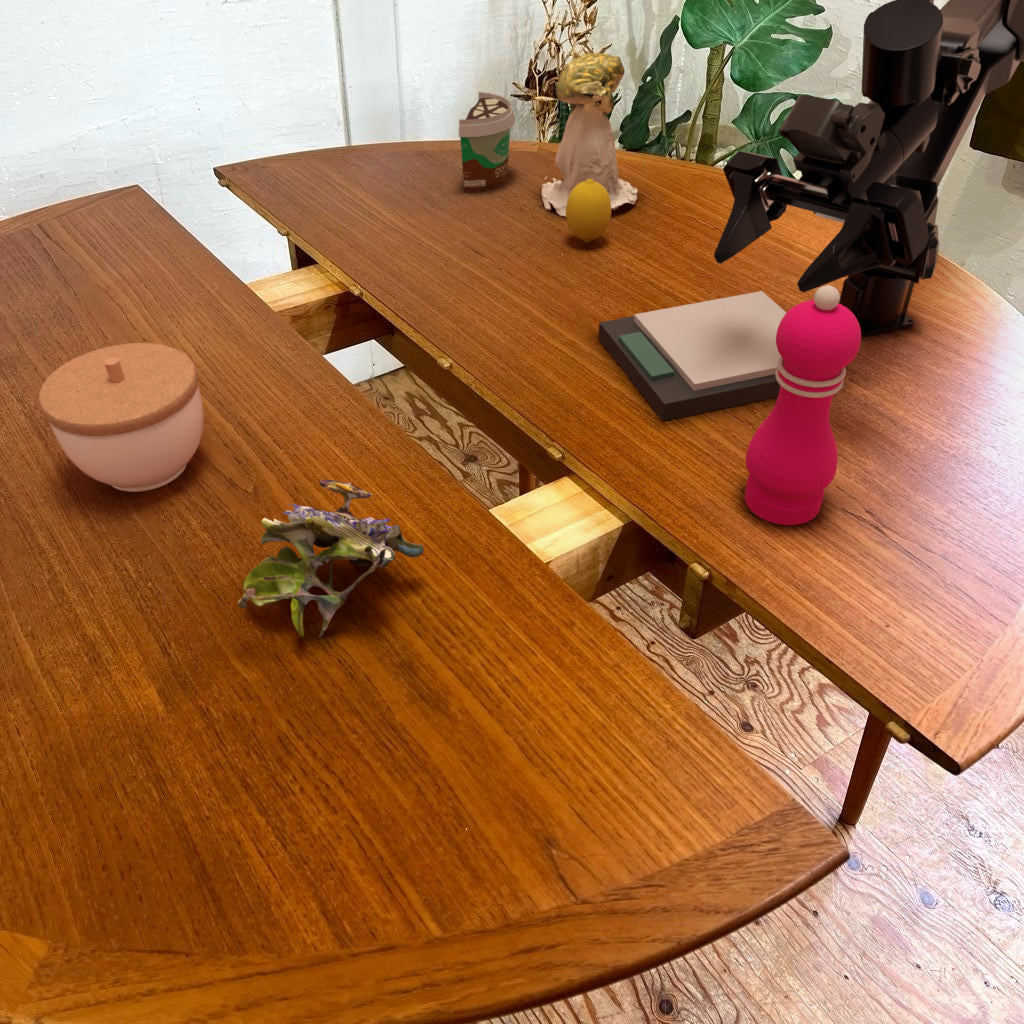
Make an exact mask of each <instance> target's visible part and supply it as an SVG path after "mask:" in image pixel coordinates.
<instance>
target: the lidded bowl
mask: <svg viewBox="0 0 1024 1024" xmlns="http://www.w3.org/2000/svg"><path fill="white" fill-rule="evenodd" d="M198 377H199V376H198V372H197V368H196V364H195V363H194V361H193V360H192V359H191V357H189V355H187V354H186V353H184V352H183V351H181V350H179V349H178V348H175V347H172V346H169V345H166V344H160V343H152V342H151V343H150V342H131V343H121V344H115V345H110V346H105V347H101V348H99V349H94V350H92V351H89V352H86V353H84V354H81V355H79V356H76V357H74V358H72V359H71V360H68V361H67V362H65V363H64V364H62V365H61V366H59V367H58V368H57V369H55V370H54V371H53V372H52V373H51V374H50V375H49V376H48V377H47V378H46V379H45V381H44V382H43V384H42V386H41V388H40V391H39V392H38V403H39V406H40V410H41V411H42V414H43V416H44V417H45V419H46V420H47V422H48V424H49V427H50V430H51V431H52V434H53V436H54V438H55V440H56V441H57V443H58V444H59V446H60V448H61V450H62V451H63V452H64V454H65V455H66V457H67V458H68V460H69V461H70V462H71V463H72V464H73V465H74V466H75V467H76V468H78V470H80V471H81V472H82V473H83V474H84V475H86V476H88V477H90V478H91V479H93V480H94V481H97V482H100V483H102V484H105V485H108V486H111V487H112V488H113V489H116V490H118V491H122V492H127V493H128V492H129V493H139V492H147V491H151V490H155V489H158V488H161V487H164V486H165V485H168V484H169V483H172V482H173V481H175V480H176V479H177V478H178V477H179V476H181V474H182V473H183V472H184V471H185V470H186V468H187V465H188V463H190V462H191V460H192V458H193V457H194V455H195V454H196V452H197V450H198V448H199V445H200V443H201V441H202V438H203V437H202V436H203V431H204V417H205V414H204V407H203V406H204V405H203V398H202V395H201V394H202V393H201V390H200V386H199V385H200V384H199V378H198Z"/></svg>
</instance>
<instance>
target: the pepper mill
mask: <svg viewBox="0 0 1024 1024" xmlns="http://www.w3.org/2000/svg"><path fill="white" fill-rule="evenodd" d="M840 296H841V293H840V292H839V289H837V288H836V287H835V286H833V285H828V284H825V285H822V286H820V287H818V288H817V290H816V291H815V292H814V296H813V299H810V300H806V301H801V302H799V303H798V304H796V305H794V306H792V307H791V308H790V309H789V310H787V311H786V314H785V315H784V317H783V318H782V320H781V322H780V324H779V326H778V329H777V334H776V346H777V349H778V352H779V354H780V355H781V357H780V359H779V360H778V365H777V366H778V369H777V370H776V374H775V375H776V380H777V382H778V383H779V384H780V391H779V395H778V397H777V400H776V402H775V404H774V406H773V408H772V410H771V411H770V412H769V414H768V416H767V417H766V418H765V419H764V421H763V422H762V423H761V424H759V425H760V426H758V428H757V429H756V430H755V432H754V433H753V436H752V437H751V439H750V440H749V443H748V448H747V450H746V453H745V467H746V470H747V472H748V474H749V476H748V478H747V480H746V486H745V490H744V491H745V492H744V500H745V504H746V506H747V507H748V509H749V510H750V511H751V512H752V513H753V514H754V515H756V516H757V517H758V518H760V519H761V520H764V521H766V522H767V523H771V524H775V525H781V526H798V525H803V524H807V523H809V522H810V521H812V520H814V519H815V518H816V517H817V516H818V514H819V513H820V510H821V506H822V504H823V503H822V502H823V500H824V496H825V495H824V494H825V490H826V488H827V487H828V486H829V485H831V483H832V482H833V481H834V479H835V477H836V473H837V468H838V458H839V457H838V447H837V442H836V438H835V436H834V432H833V430H832V426H831V421H830V410H831V405H832V401H833V398H834V395H835V394H837V393H838V392H839V391H840V390H842V388H843V386H844V378H845V377H846V375H847V369H846V367H847V366H849V365H850V364H851V363H852V362H853V361H854V360H855V359H856V356H857V355H858V353H859V350H860V348H861V342H862V335H861V330H860V325H859V323H858V321H857V318H856V317H855V315H854V314H853V313H852V312H851V311H850V310H849V309H848V308H846V307H844V306H843V305H841V304H839V301H840Z"/></svg>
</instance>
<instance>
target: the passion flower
mask: <svg viewBox="0 0 1024 1024" xmlns="http://www.w3.org/2000/svg"><path fill="white" fill-rule="evenodd" d="M318 484H319V485H320V487H322V488H324V489H327V490H330V491H332V493H335V494H336V493H337V494H340V495H341V496H342V497H343V504H342V506H340V507H339V508H338V509H336V510H333V511H329V510H328V511H325V510H324V509H322V510H321V509H319V508H314V507H311V506H306V505H305V506H303V505H298V504H295V503H294V502H291V507H292V508H293V510H289V509H286V510H285V511H283V512H282V514H284V515H285V516H286V515H287V519H288V520H289V521H290V522H282V521H281V520H278V519H276V518H274V519H273V521H272V520H271V519H268V518H267V517H263V518H262V520H261V526H263V528H264V529H265V532H263V533H262V535H261V539H260V544H261V545H265V544H268V543H275V542H278V543H282V542H287V543H290V544H291V545H292V546H294V547H295V548H296V549H297V551H298V553H299V555H300V557H299V556H298V554H297V553H296V552H295V551H294V550H293V549H292V548H290V547H289V546H288V545H287V546H283V547H281V548H280V550H278V551H277V554H276V556H275V555H274V556H273V555H269V556H267V557H266V558H263V559H262V560H261V561H260V562H259V563H257V565H256V566H254V567H253V569H250V570H249V572H248V573H247V575H246V577H245V579H244V581H243V582H242V588H243V595H242V597H241V598H240V599H239V600H238V601H237V606H238V607H239V608H241V609H246V608H247V606H248V601H249V600H250V601H251V602H252V603H253V605H254V606H255V607H265V606H267V605H272V604H273V603H277V602H279V601H282V600H289V599H291V602H290V611H291V612H290V613H291V622H292V624H293V627H294V629H295V630H296V632H297V633H298V634H299V635H300V636H301V638H302V637H305V631H304V611H305V608H306V606H307V604H309V602H310V601H315V602H316V604H317V611H318V613H319V614H320V615H321V617H322V621H323V622H322V628H321V630H320V632H319V634H318V638H323V636H324V634H325V632H326V630H327V629H328V627H329V625H330V622H331V620H332V619H333V616H334V615H335V613H336V611H337V610H338V609H340V608H341V607H342V606H344V605H345V603H346V600H347V599H346V598H347V597H348V596H349V594H350V593H351V591H353V590H354V589H355V588H356V587H358V585H359V584H361V582H363V580H365V579H366V577H368V576H370V574H371V573H373V572H374V571H376V570H377V569H378V568H380V567H381V568H384V569H385V568H387V567H388V566H389V564H390V563H393V562H394V561H395V558H396V552H399V553H401V554H402V555H404V556H406V557H408V558H418V557H420V556H421V555H423V554H424V552H425V550H424V546H423V543H422V544H418V543H414V542H413V543H411V542H408V541H406V539H405V538H404V536H403V533H402V530H401V527H400V526H398V525H397V524H396V525H391V526H389V525H387V524H388V523H389V522H390V521H391V519H390V518H385V519H375V518H374V517H369V516H368V517H364V518H356V517H355V516H354V515H353V514H352V512H351V510H350V505H351V502H352V501H353V500H354V499H365V500H367V499H369V498H370V497H372V496H373V494H372V492H367V491H366V490H365V489H364V490H363V489H362V488H360V487H359V486H356V485H354V484H353V482H342V481H338V480H334V479H320V480H319V482H318ZM287 506H288V507H289V506H290V504H289V503H288V504H287ZM314 546H315V547H317V548H322V549H323V550H321V552H320V553H318V554H315V552H314ZM334 560H348V561H349V563H350V564H353V565H355V566H358V567H359V568H363V567H365V566H370V568H369V569H368V570H367V571H366V572H364V573H362V574H361V575H360V576H359V577H357V579H356V580H355V581H354V582H353V583H352V584H350V585H349V586H348V587H347V588H346V589H345V590H343V591H337V590H334V589H335V588H334V586H333V579H334V577H333V562H334ZM327 563H329V576H328V582H326V583H323V582H322V581H321V580H320V578H319V577H318V576H317V570H318V569H319V568H320V567H322V566H323V565H325V564H327ZM313 587H317V588H319V589H321V590H323V591H324V592H325V593H326V594H327V595H323V594H322V595H321V594H320V595H318V594H311V593H310V592H309V589H310V588H313Z"/></svg>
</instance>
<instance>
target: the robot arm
mask: <svg viewBox="0 0 1024 1024" xmlns="http://www.w3.org/2000/svg"><path fill="white" fill-rule="evenodd" d="M934 2H935V0H891V1H889V2H886V3H884V4H882V5H881V6H879V7H877V8H876V9H875V10H874V11H871V12H870V13H868V15H867V16H866V18H865V20H864V24H863V36H862V38H863V39H862V62H861V63H862V66H861V67H862V68H861V69H862V70H861V94H862V97H864V98H867V99H869V101H868V103H867V102H858V103H857V104H856V105H852V104H846V103H843V102H841V101H839V100H836V99H831V98H825V97H819V96H812V95H806V94H800V95H798V96H797V99H796V100H795V102H794V104H793V105H792V108H791V109H790V111H789V113H788V114H787V117H786V118H785V120H784V122H783V123H782V125H781V126H780V129H779V130H778V133H779V135H780V136H781V137H782V138H783V139H786V140H788V142H789V143H790V144H791V145H792V147H794V148H795V149H796V151H797V152H798V153H797V155H795V157H794V158H793V163H794V167H795V170H796V171H799V172H800V174H801V176H800V177H799V179H798V178H793V177H789V176H786V175H783V174H782V169H781V166H780V164H779V160H778V158H776V157H773V156H769V155H763V154H760V153H759V154H758V153H755V152H750V151H743V150H738V151H737V152H736V153H735V154H734V156H733V157H731V159H730V160H729V161H728V162H727V163H726V164H725V165H724V167H722V170H723V173H724V176H725V178H726V180H727V181H726V182H727V184H728V187H729V189H730V191H731V194H732V196H733V203H732V207H731V211H730V215H729V217H728V219H727V222H726V224H725V227H724V229H723V231H722V234H721V236H720V238H719V241H718V244H717V246H716V248H715V251H714V253H713V257H714V260H715V262H716V263H717V264H721V265H722V264H723V263H725V262H726V261H728V260H730V259H732V258H733V257H734V256H736V255H737V254H739V253H740V252H741V251H743V250H744V249H746V248H747V247H748V246H749V245H751V244H753V243H754V242H755V241H757V240H759V239H760V238H761V237H762V236H764V235H765V234H766V233H768V232H769V231H770V230H771V229H772V228H773V227H772V224H771V222H773V221H777V220H779V219H780V218H781V217H782V216H783V214H784V213H785V212H786V211H787V207H788V206H791V207H795V208H797V209H802V210H805V211H808V212H813V215H816V216H817V217H819V218H823V219H827V220H830V221H833V222H837V223H841V224H843V225H842V227H841V228H840V230H839V232H838V233H837V234H836V235H835V236H834V237H833V238H832V240H831V241H830V242H829V243H828V244H827V245H826V246H825V248H823V250H821V252H820V253H819V254H818V255H817V257H816V258H814V260H813V261H812V262H811V263H810V264H809V265H808V266H807V268H806V269H805V270H804V272H803V274H802V275H801V277H800V278H799V279H798V281H797V288H798V290H799V292H801V293H806V292H809V291H812V290H815V289H818V288H820V287H822V286H826V285H828V284H830V283H833V282H836V281H838V280H841V279H843V278H844V280H843V283H842V288H841V292H840V300H839V304H841V305H843V306H844V307H846V308H848V309H849V310H850V311H851V312H852V313H853V314H854V315H855V317H856V318H857V321H858V323H859V325H860V330H861V336H865V337H867V336H872V335H877V334H883V333H887V332H891V331H898V330H902V329H907V328H912V327H914V326H915V323H916V321H915V320H914V319H913V318H912V317H910V316H909V315H907V313H908V308H909V305H910V301H911V298H912V295H913V291H914V288H915V284H918V285H919V284H920V283H921V281H922V280H929V279H932V278H933V277H934V274H935V270H936V267H937V263H938V258H939V248H940V241H939V226H938V224H936V222H937V221H936V219H937V213H938V206H939V197H938V191H939V189H938V188H939V186H940V184H941V183H942V180H943V178H944V176H945V174H946V173H947V170H948V168H949V166H950V165H951V162H952V160H953V159H954V157H955V154H956V152H957V150H958V149H959V147H960V145H961V142H962V141H963V139H964V137H965V136H966V133H967V131H968V129H969V128H970V125H971V123H972V121H973V119H974V117H975V115H976V113H977V111H978V109H979V108H980V105H981V104H982V101H983V100H984V98H985V96H986V95H988V94H989V93H991V92H993V91H995V90H997V89H999V88H1001V87H1002V86H1005V85H1006V84H1008V83H1009V82H1010V81H1011V79H1012V77H1013V76H1014V74H1015V72H1016V70H1017V68H1018V66H1019V64H1020V63H1021V62H1023V63H1024V0H948V1H946V3H944V4H943V6H942V7H941V8H939V7H938V6H937V5H935V4H934Z"/></svg>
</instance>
